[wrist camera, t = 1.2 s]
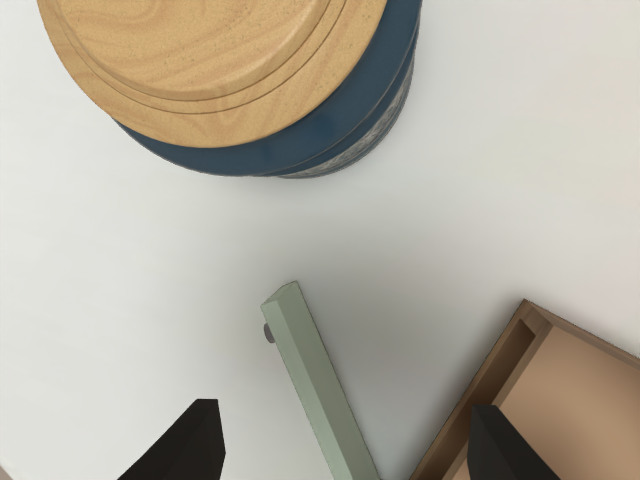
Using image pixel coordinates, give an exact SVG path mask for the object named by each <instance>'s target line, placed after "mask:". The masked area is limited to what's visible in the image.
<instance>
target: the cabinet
mask: <svg viewBox="0 0 640 480" xmlns="http://www.w3.org/2000/svg"><path fill="white" fill-rule="evenodd" d="M473 404H478V405H496V406H497V407H498V408H499V409H500V410H501V411H502V413H503V414H504V415H505V416H506V418H507V419H508V420H509V421H510V422H511V424H512V425H513V426H514V427H515V428H516V430H517V431H518V432H519V433H520V434H521V435H522V437H523V438H524V439H525V440H526V441H527V442H528V444H529V445H530V446H531V447H532V448H533V449H534V450H535V452H536V453H537V454H538V455H539V456H540V457H541V458H542V459H543V460H544V461H545V463H546V464H547V465H548V466H549V467H550V468H551V469H552V470H553V471H554V472H555V473H556V475H557V476H558V477H559V478H560V479H561V480H640V359H638V358H637V357H635V356H633V355H631V354H629V353H627V352H625V351H623V350H621V349H619V348H617V347H616V346H614V345H612V344H610V343H608V342H606V341H604V340H602V339H600V338H598V337H596V336H595V335H593V334H591V333H589V332H587V331H585V330H583V329H581V328H579V327H577V326H576V325H574V324H572V323H570V322H568V321H566V320H564V319H562V318H560V317H558V316H556V315H555V314H553V313H551V312H549V311H547V310H545V309H543V308H541V307H539V306H537V305H535V304H534V303H532V302H530V301H528V300H526V299H524V300H523V302H522V303H521V305H520V306H519V308H518V309H517V311H516V313H515V314H514V316H513V317H512V319H511V320H510V322H509V324H508V325H507V327H506V328H505V330H504V331H503V333H502V335H501V336H500V338H499V339H498V341H497V342H496V344H495V346H494V347H493V349H492V350H491V352H490V353H489V355H488V357H487V358H486V360H485V361H484V363H483V364H482V366H481V368H480V369H479V371H478V372H477V374H476V375H475V377H474V379H473V380H472V382H471V383H470V385H469V387H468V388H467V390H466V391H465V393H464V394H463V396H462V398H461V399H460V401H459V402H458V404H457V405H456V407H455V409H454V410H453V412H452V413H451V415H450V416H449V418H448V420H447V421H446V423H445V424H444V426H443V427H442V429H441V431H440V432H439V434H438V435H437V437H436V438H435V440H434V442H433V443H432V445H431V446H430V448H429V449H428V451H427V453H426V454H425V456H424V457H423V459H422V460H421V462H420V464H419V465H418V467H417V468H416V470H415V471H414V473H413V475H412V476H411V478H410V479H409V480H470V475H469V470H468V465H467V451H468V442H469V433H470V424H471V414H472V405H473Z"/></svg>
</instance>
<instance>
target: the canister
mask: <svg viewBox="0 0 640 480" xmlns="http://www.w3.org/2000/svg"><path fill="white" fill-rule="evenodd" d="M422 1H423V0H37V3H38V7H39V11H40V14H41V17H42V20H43V23H44V26H45V29H46V31H47V34H48V36H49V39H50V41H51V43H52V45H53V47H54V49H55V51H56V53H57V55H58V57H59V58H60V60H61V62H62V63H63V65H64V67H65V68H66V70H67V71H68V73H69V74H70V75H71V77H72V78H73V80H74V81H75V82H76V83H77V85H78V86H79V87H80V88H81V89H82V90H83V92H84V93H85V94H86V95H87V96H88V97H89V98H90V99H91V100H92V101H93V102H94V103H95V104H96V105H98V106H99V107H100V108H101V109H102V110H104V111H105V112H106V113H107V114H109V115H110V116H111V118H112V119H113V120H114V121H115V122H116V123H117V124H118V125H119V126H120V127H121V128H122V129H123V130H124V131H125V132H126V133H127V134H128V135H129V136H130V137H132V138H133V139H134V140H135V141H137V142H138V143H139V144H140V145H142V146H143V147H145V148H146V149H148V150H149V151H151V152H152V153H154V154H156V155H157V156H159V157H161V158H163V159H165V160H167V161H169V162H171V163H173V164H175V165H178V166H181V167H184V168H186V169H189V170H193V171H197V172H200V173H206V174H211V175H219V176H237V177H241V176H253V177H279V178H287V179H306V178H315V177H320V176H325V175H328V174H332V173H335V172H337V171H340V170H342V169H344V168H346V167H348V166H350V165H352V164H354V163H355V162H357V161H359V160H360V159H361V158H363V157H364V156H366V155H367V154H368V153H369V152H370V151H372V150H373V149H374V148H375V147H376V146H377V145H378V144H379V143H380V142H381V141H382V139H383V138H384V137H385V136H386V135H387V133H388V132H389V131H390V129H391V128H392V126H393V125H394V123H395V122H396V120H397V118H398V116H399V114H400V113H401V110H402V108H403V106H404V104H405V101H406V98H407V95H408V92H409V89H410V85H411V80H412V75H413V68H414V56H415V49H416V44H417V39H418V34H419V26H420V13H421V6H422Z"/></svg>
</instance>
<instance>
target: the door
mask: <svg viewBox="0 0 640 480" xmlns="http://www.w3.org/2000/svg"><path fill="white" fill-rule="evenodd" d="M260 307H261V309H262V312H263V314H264V316H265V319H266V321H267V323H266V324H265V325H264V332H265V336H266V338H267V340H268V341H269V342H270V343H274V342H276V344H277V347H278V349H279V351H280V354H281V356H282V358H283V361H284V363H285V365H286V368H287V370H288V372H289V375H290V377H291V379H292V382H293V384H294V386H295V389H296V391H297V393H298V396H299V398H300V400H301V403H302V405H303V407H304V410H305V412H306V414H307V417H308V419H309V421H310V424H311V426H312V428H313V431H314V433H315V435H316V438H317V440H318V442H319V445H320V447H321V449H322V452H323V454H324V456H325V459H326V461H327V463H328V466H329V468H330V470H331V473H332V475H333V477H334V480H380V478H379V476H378V473H377V471H376V469H375V466H374V464H373V462H372V459H371V457H370V454H369V452H368V450H367V447H366V445H365V443H364V440H363V438H362V436H361V433H360V431H359V428H358V426H357V424H356V421H355V419H354V417H353V414H352V412H351V410H350V407H349V405H348V402H347V400H346V398H345V395H344V393H343V391H342V388H341V386H340V383H339V381H338V379H337V376H336V374H335V372H334V369H333V367H332V365H331V362H330V360H329V357H328V355H327V353H326V350H325V348H324V346H323V343H322V341H321V339H320V336H319V334H318V331H317V329H316V327H315V324H314V322H313V320H312V317H311V315H310V312H309V310H308V308H307V305H306V303H305V301H304V298H303V296H302V294H301V291H300V289H299V286H298V284H297V282H296V281H295V282H292V283H290V284H287V285H285V286H282V287H281V288H280V289H279V290H278V291H277V292H275V293H274V294H273V295H272V296H271V297H270V298H269V299H268V300H266V301H265V302H264V303H263V304H262V305H261V306H260Z"/></svg>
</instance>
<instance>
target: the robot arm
mask: <svg viewBox="0 0 640 480" xmlns="http://www.w3.org/2000/svg"><path fill="white" fill-rule="evenodd" d="M225 454H226V451H225V445H224V438H223V432H222V425H221V419H220V412H219V406H218V399H196V400H195V401H194V402H193V403H192V404H191V405H190V406H189V407H188V409H187V410H186V411H185V412H184V413H183V414H182V415H181V416H180V417H179V418H178V419H177V420H176V421H175V422H174V424H173V425H172V426H171V427H170V428H169V429H168V430H167V431H166V432H165V433H164V434H163V435H162V436H161V437H160V438H159V439H158V440H157V441H156V442H155V443H154V444H153V445H152V446H151V447H150V448H149V449H148V450H147V451H146V452H145V453H144V455H143V456H141V457H140V458H139V459H138V460H137V461H136V462H135V463H134V464H133V465H132V466H131V467H130V468H129V469H128V470H127V471H126V472H125V473H124V474H122V475H121V476H120V477H119V478H118V479H117V480H220V476H221V472H222V467H223V463H224V459H225ZM467 465H468V470H469V475H470V480H561V479H560V478H559V477H558V476H557V475H556V473H555V472H554V471H553V470H552V469H551V468H550V467H549V466H548V465H547V464H546V463H545V461H544V460H543V459H542V458H541V457H540V456H539V455H538V454H537V453H536V452H535V450H534V449H533V448H532V447H531V446H530V445H529V444H528V442H527V441H526V440H525V439H524V438H523V437H522V435H521V434H520V433H519V432H518V431H517V430H516V428H515V427H514V426H513V425H512V424H511V422H510V421H509V420H508V419H507V418H506V416H505V415H504V414H503V413H502V411H501V410H500V409H499V408H498V407H497V406H496V405H478V404H473V405H472V414H471V424H470V433H469V442H468V451H467Z"/></svg>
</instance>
